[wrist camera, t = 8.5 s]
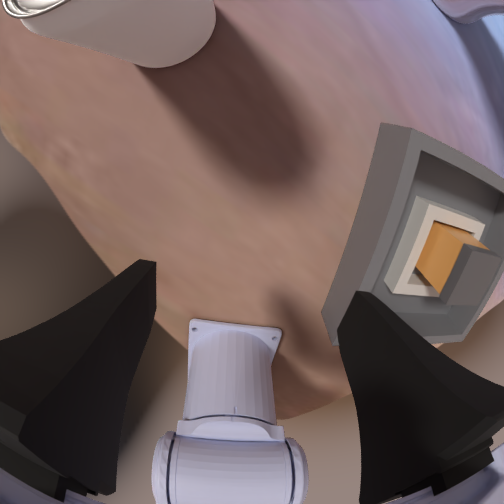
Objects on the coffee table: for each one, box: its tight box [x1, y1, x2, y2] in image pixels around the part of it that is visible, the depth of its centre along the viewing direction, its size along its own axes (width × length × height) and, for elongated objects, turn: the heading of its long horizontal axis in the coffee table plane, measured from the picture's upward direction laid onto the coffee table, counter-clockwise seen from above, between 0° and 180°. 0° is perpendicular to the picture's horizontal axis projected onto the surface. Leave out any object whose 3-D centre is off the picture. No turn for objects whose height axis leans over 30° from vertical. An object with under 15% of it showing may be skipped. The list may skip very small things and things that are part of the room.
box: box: [321, 123, 504, 346], centre depth 19 cm, size 16×16×4 cm
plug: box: [415, 220, 502, 306], centre depth 17 cm, size 4×4×6 cm
